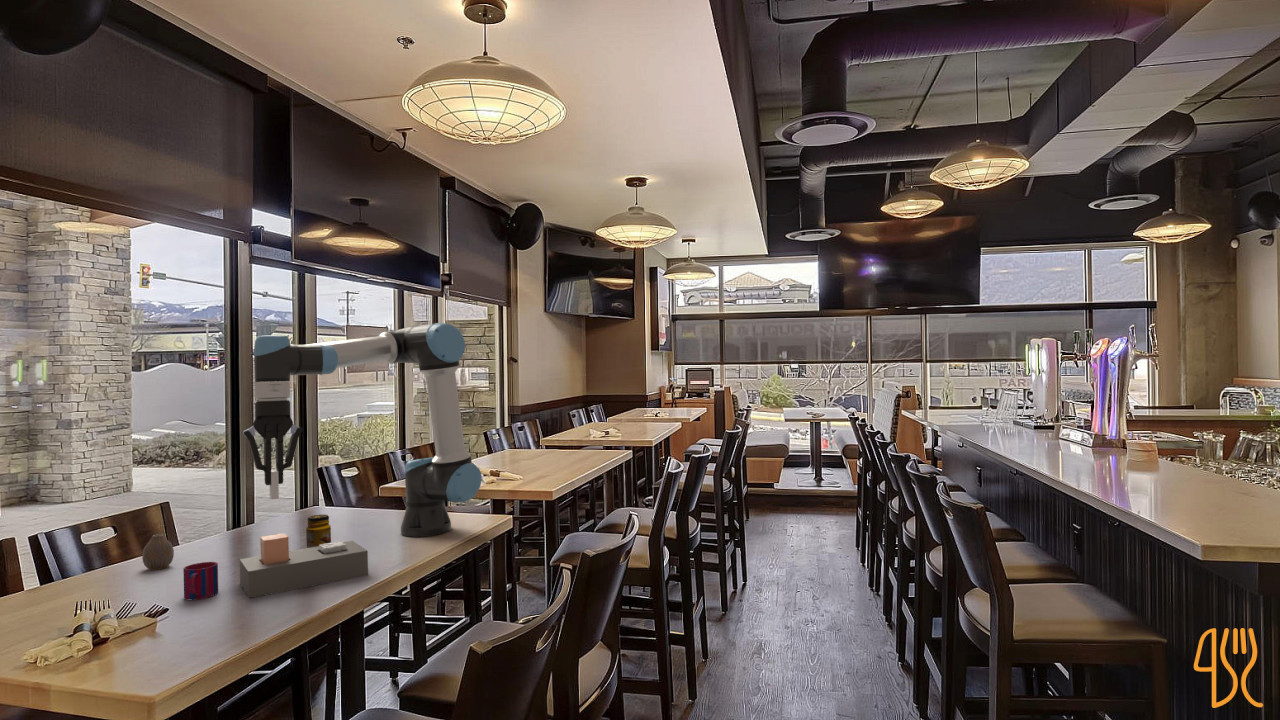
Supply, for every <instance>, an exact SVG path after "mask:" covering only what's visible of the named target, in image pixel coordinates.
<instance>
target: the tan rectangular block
mask: <svg viewBox="0 0 1280 720" xmlns="http://www.w3.org/2000/svg"><path fill="white" fill-rule="evenodd" d="M259 538H260V539H259V540H260V544H259V545H260V556H261V563H262V564H263V565H265V564H271V563H277V562H282V561H288V560H289V551H290V546H289V544H290V542H289V536H288V535H287V534H286V533H285V532H283V533H277V534H271V535H262V536H260V537H259Z"/></svg>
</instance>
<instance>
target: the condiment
mask: <svg viewBox="0 0 1280 720" xmlns="http://www.w3.org/2000/svg"><path fill="white" fill-rule="evenodd" d="M331 530H332V528H331V525H330V516H329V515H328V514H315V515H310V516H308V518H307V527H306V529H305V532H306V534H305V535H306V537H305V538H306V548H311V547H317V546H319V545H320V544H326V543H332V531H331Z"/></svg>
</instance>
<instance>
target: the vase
mask: <svg viewBox="0 0 1280 720" xmlns="http://www.w3.org/2000/svg"><path fill="white" fill-rule="evenodd" d="M174 550H175V549H174V547H173V544H172V543H171V541H169V540H168V539H167V538H166V537H165V536H164V534H162V533H158V534H154V535H152V536H151V538H150V539H149V541H148V542H147V544H146V545H145V547H144V548H143V550H142V555H141V556H142V557H141V558H142V562H143V564H144V566H145V568H147V569H148V570H150V571H158V569H159V570H163V568H164V569H166V568H168V567H169V566H170V565H171V564H172V562H173V560H174V557H175V556H174V555H175V551H174Z"/></svg>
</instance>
